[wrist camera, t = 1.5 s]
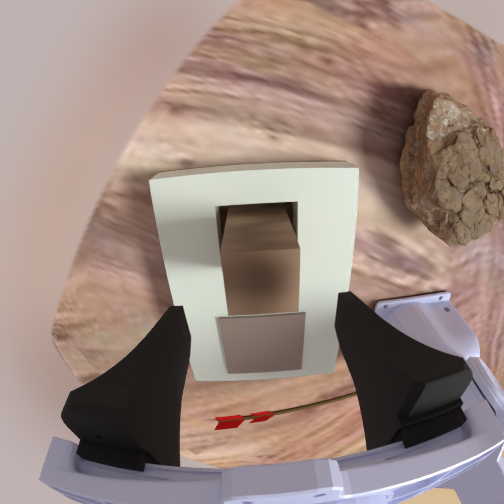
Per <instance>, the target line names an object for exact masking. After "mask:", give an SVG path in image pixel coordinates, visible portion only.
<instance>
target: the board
mask: <svg viewBox="0 0 504 504" xmlns="http://www.w3.org/2000/svg"><path fill="white" fill-rule="evenodd" d="M149 184H150V191H151V197H152V203H153V209H154V214H155V220H156V225H157V230H158V236H159V241H160V246H161V250H162V255H163V260H164V264H165V269H166V273H167V278H168V282H169V286H170V290H171V294H172V299H173V303H174V306H183V308H184V312H185V315H186V319H187V323H188V327H189V330H190V334H191V337H192V338H191V352H190V359H189V361H190V364H191V367H192V370H193V374H194V377H195V380H196V381H239V380H261V379H277V378H289V377H300V376H309V375H318V374H326V373H334V369H335V364H336V360H337V355H338V350H339V343H338V339H337V335H336V331H335V327H334V324H335V316H336V308H337V300H338V293H341V292H348V290H349V283H350V275H351V267H352V259H353V250H354V240H355V229H356V217H357V203H358V185H359V168H358V167H356V166H355V165H353V164H351V163H349V162H277V163H256V164H240V165H226V166H214V167H203V168H193V169H184V170H175V171H167V172H159V173H158V174H156V175H155V176H154V177H152V178H151V179H150V180H149ZM275 202H292V206H293V230H294V233H295V235H296V238H297V241H298V243H299V246H300V286H299V312H287V313H273V314H256V315H237V316H228V311H227V303H226V296H225V288H224V280H223V272H222V264H221V256H220V252H221V246H222V240H223V239H222V229H221V220H220V210H219V206H225V205H240V204H256V203H275Z"/></svg>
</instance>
